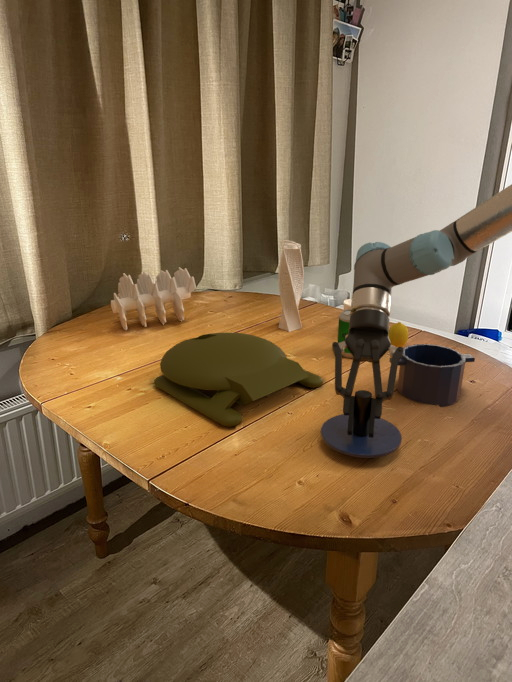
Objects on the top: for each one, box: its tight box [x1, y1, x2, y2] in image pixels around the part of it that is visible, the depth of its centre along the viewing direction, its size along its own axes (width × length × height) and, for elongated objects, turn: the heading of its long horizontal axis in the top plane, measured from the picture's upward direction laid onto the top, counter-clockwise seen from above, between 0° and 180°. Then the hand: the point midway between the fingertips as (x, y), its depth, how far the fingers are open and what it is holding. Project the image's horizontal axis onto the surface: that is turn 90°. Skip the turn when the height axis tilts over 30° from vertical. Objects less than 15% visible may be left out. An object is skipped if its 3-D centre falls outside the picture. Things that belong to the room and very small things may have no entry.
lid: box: [320, 389, 402, 459], centre depth 91 cm, size 15×15×9 cm
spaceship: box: [153, 331, 324, 427], centre depth 119 cm, size 35×31×10 cm
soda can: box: [336, 309, 353, 359], centre depth 135 cm, size 8×8×12 cm
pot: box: [389, 343, 476, 408], centre depth 114 cm, size 14×19×10 cm
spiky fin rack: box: [110, 266, 198, 331], centre depth 159 cm, size 18×18×25 cm
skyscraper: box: [277, 239, 305, 333], centre depth 153 cm, size 8×8×28 cm
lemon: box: [388, 321, 409, 348], centre depth 139 cm, size 6×6×8 cm
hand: (360, 434), depth 88 cm, fingers closed on lid, 3 cm apart
